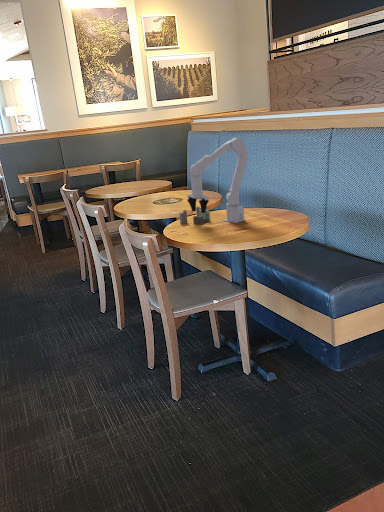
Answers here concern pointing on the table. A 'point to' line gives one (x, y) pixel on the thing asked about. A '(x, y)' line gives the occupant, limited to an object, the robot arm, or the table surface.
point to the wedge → (199, 220)
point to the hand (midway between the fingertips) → (198, 212)
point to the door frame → (184, 215)
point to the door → (204, 214)
